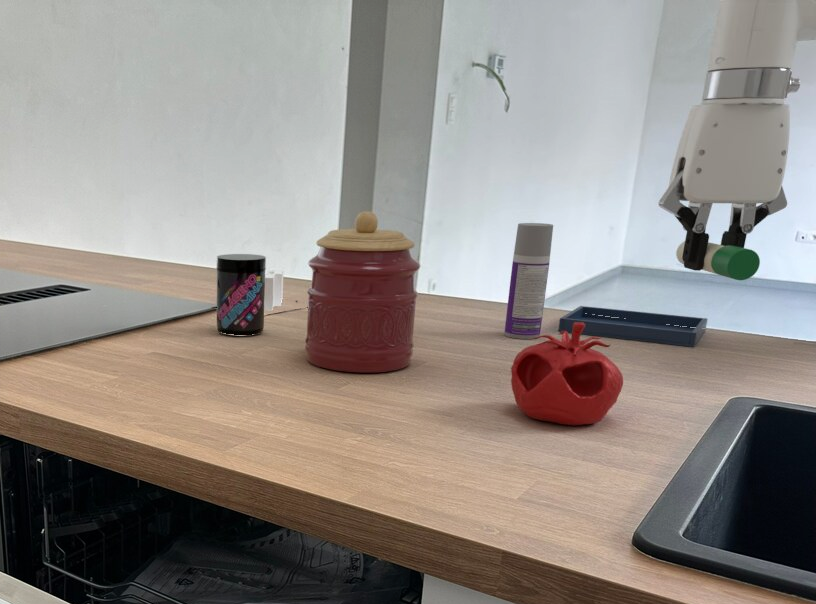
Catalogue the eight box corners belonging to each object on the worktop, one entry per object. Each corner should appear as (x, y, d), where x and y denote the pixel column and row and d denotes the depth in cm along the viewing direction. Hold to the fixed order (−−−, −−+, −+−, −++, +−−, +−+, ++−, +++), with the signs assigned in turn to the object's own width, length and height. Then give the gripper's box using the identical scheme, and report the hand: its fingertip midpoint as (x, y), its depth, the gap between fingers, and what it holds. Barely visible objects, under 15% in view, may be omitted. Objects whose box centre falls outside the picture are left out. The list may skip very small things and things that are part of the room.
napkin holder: (271, 296, 149) (272, 263, 147) (323, 305, 141) (324, 269, 139) (210, 307, 139) (210, 271, 137) (262, 316, 131) (263, 279, 129)
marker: (668, 263, 102) (674, 235, 101) (696, 264, 102) (702, 236, 101) (724, 279, 89) (731, 248, 88) (756, 281, 89) (763, 249, 88)
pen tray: (705, 331, 122) (707, 318, 122) (693, 347, 113) (696, 333, 112) (578, 318, 131) (580, 305, 131) (558, 331, 122) (559, 318, 121)
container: (506, 331, 122) (519, 222, 117) (541, 334, 120) (556, 223, 115) (501, 337, 118) (514, 225, 113) (537, 340, 116) (552, 226, 111)
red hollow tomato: (528, 396, 90) (540, 308, 87) (629, 414, 84) (645, 320, 81) (490, 417, 83) (501, 322, 80) (597, 439, 77) (613, 337, 74)
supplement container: (206, 333, 120) (206, 257, 116) (234, 325, 125) (235, 252, 121) (246, 339, 116) (247, 261, 112) (273, 331, 121) (275, 256, 118)
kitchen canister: (405, 378, 97) (418, 217, 91) (293, 369, 101) (298, 213, 95) (417, 353, 108) (430, 209, 102) (316, 346, 112) (323, 206, 106)
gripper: (804, 92, 93) (766, 265, 99) (648, 92, 93) (621, 264, 100) (848, 88, 85) (805, 275, 92) (680, 88, 86) (648, 273, 92)
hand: (709, 267), depth 96 cm, fingers closed on marker, 3 cm apart
